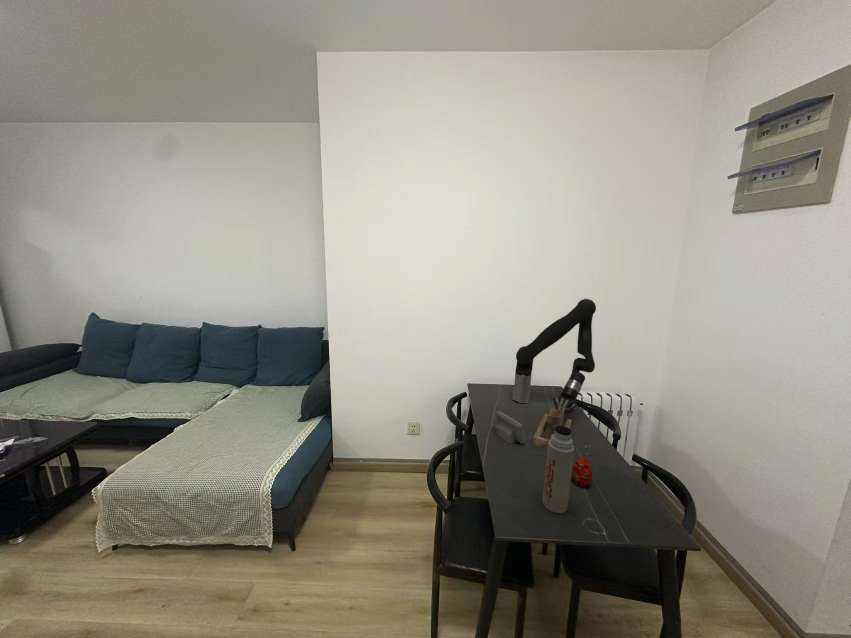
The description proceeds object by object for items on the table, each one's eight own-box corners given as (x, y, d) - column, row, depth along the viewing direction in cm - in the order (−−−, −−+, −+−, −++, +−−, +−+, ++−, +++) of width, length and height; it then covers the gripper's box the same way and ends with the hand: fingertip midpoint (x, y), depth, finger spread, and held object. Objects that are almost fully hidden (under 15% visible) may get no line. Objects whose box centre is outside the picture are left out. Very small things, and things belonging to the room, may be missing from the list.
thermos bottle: (548, 513, 105) (557, 435, 100) (538, 496, 113) (545, 423, 108) (571, 512, 106) (581, 435, 101) (559, 495, 114) (568, 422, 109)
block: (545, 432, 157) (547, 415, 155) (550, 424, 165) (552, 407, 163) (558, 436, 153) (560, 418, 152) (562, 427, 162) (564, 410, 160)
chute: (532, 444, 145) (533, 437, 145) (544, 419, 169) (544, 413, 169) (563, 453, 139) (564, 446, 138) (570, 426, 163) (571, 420, 162)
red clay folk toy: (566, 476, 124) (570, 441, 121) (581, 474, 126) (585, 439, 123) (580, 490, 117) (585, 453, 114) (596, 487, 118) (601, 450, 116)
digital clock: (526, 445, 145) (528, 423, 143) (509, 448, 142) (511, 426, 140) (507, 427, 160) (508, 407, 158) (491, 430, 157) (492, 410, 155)
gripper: (557, 382, 171) (543, 410, 166) (582, 390, 162) (568, 420, 156) (561, 389, 176) (547, 416, 170) (585, 397, 166) (572, 426, 160)
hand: (557, 418), depth 163 cm, fingers closed
